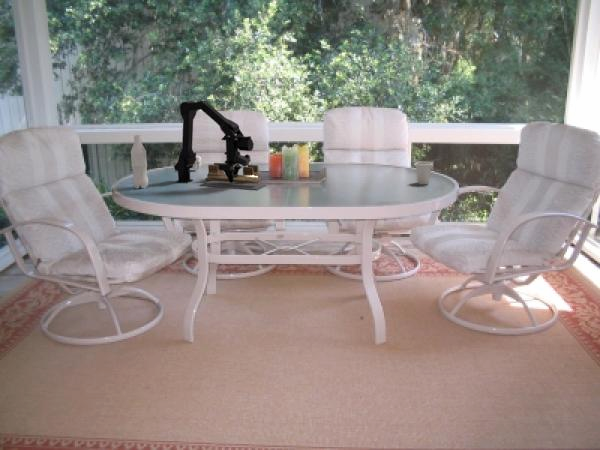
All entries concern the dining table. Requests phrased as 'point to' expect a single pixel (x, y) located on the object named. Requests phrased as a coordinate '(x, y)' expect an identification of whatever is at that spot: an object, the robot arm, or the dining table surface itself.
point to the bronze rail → (235, 178)
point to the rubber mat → (234, 185)
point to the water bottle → (139, 163)
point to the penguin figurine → (197, 163)
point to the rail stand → (250, 170)
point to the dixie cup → (423, 172)
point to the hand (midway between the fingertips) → (233, 182)
